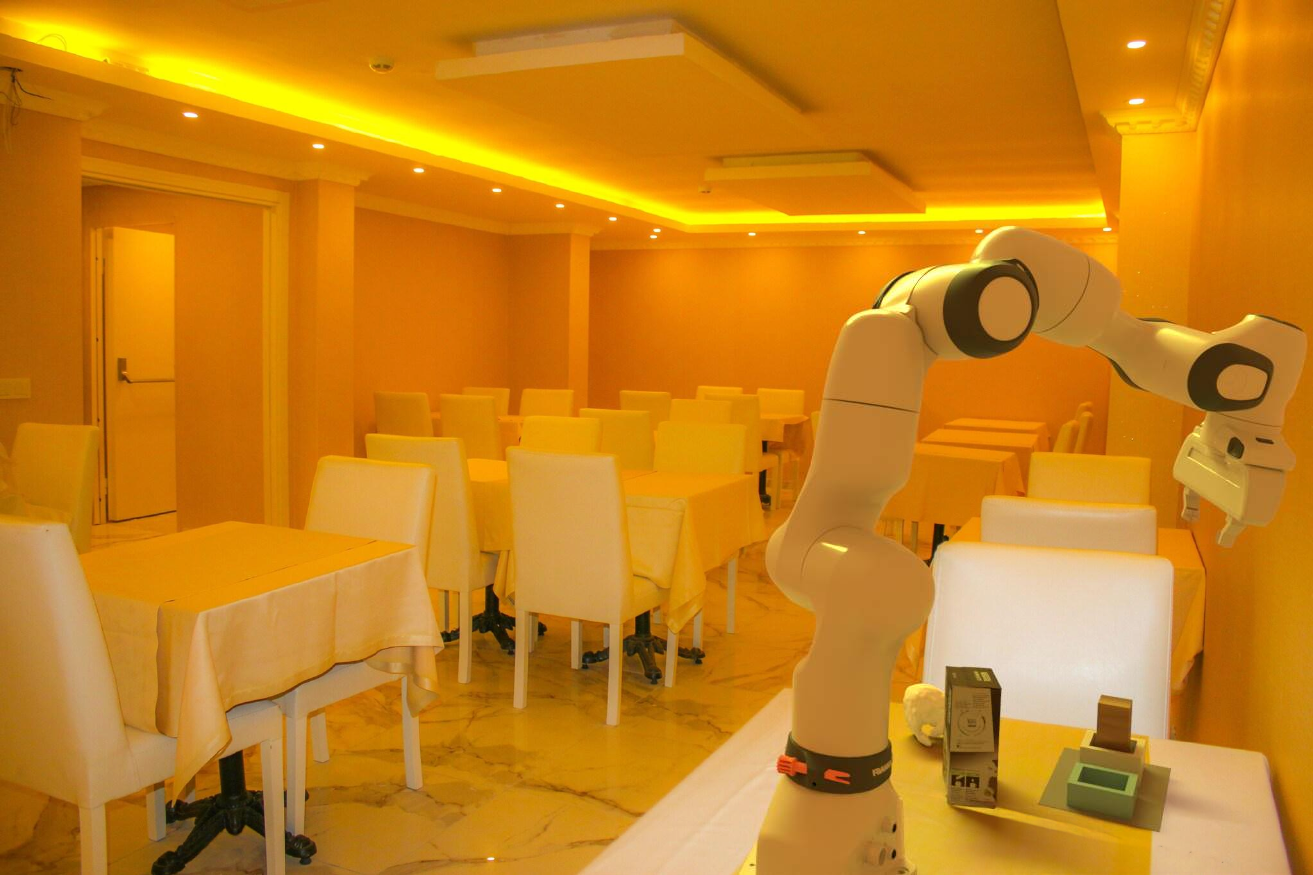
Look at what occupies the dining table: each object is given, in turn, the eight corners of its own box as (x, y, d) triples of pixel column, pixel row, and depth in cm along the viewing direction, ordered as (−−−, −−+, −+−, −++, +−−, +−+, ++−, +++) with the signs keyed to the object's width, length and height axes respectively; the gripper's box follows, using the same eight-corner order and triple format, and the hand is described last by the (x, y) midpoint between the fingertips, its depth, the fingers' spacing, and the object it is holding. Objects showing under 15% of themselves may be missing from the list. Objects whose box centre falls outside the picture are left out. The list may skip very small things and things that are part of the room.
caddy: (1158, 839, 119) (1160, 799, 119) (1037, 811, 127) (1039, 773, 126) (1170, 775, 138) (1172, 740, 138) (1064, 753, 145) (1065, 721, 145)
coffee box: (998, 809, 127) (1003, 688, 126) (946, 804, 128) (950, 684, 127) (988, 780, 136) (993, 666, 135) (940, 776, 137) (944, 663, 136)
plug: (1126, 779, 134) (1129, 708, 133) (1094, 772, 136) (1097, 702, 136) (1129, 769, 138) (1132, 699, 137) (1098, 762, 140) (1101, 694, 139)
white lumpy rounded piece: (901, 677, 153) (976, 683, 153) (894, 730, 153) (969, 736, 154) (914, 690, 147) (992, 697, 147) (907, 745, 147) (984, 752, 148)
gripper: (1178, 414, 141) (1149, 503, 145) (1255, 454, 121) (1219, 556, 125) (1221, 421, 141) (1191, 510, 145) (1305, 463, 121) (1268, 565, 125)
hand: (1205, 532), depth 135 cm, fingers open, 8 cm apart
